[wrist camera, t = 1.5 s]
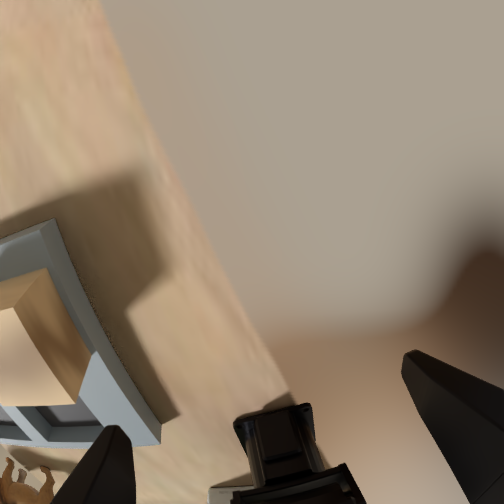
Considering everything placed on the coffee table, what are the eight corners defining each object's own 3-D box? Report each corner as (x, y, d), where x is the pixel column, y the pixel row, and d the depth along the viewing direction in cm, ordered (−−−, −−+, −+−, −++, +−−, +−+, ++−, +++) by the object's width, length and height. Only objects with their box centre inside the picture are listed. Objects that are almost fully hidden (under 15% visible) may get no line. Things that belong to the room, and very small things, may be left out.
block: (92, 355, 17) (75, 404, 13) (23, 364, 16) (2, 406, 13) (46, 267, 14) (12, 307, 10) (-21, 288, 14) (-54, 324, 10)
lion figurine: (10, 473, 25) (-2, 521, 17) (-12, 452, 23) (-29, 502, 15) (91, 485, 27) (84, 545, 18) (68, 465, 24) (57, 530, 16)
